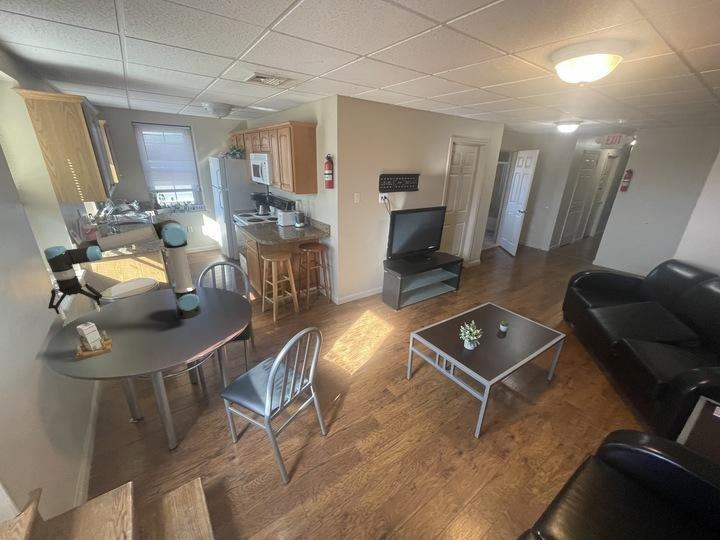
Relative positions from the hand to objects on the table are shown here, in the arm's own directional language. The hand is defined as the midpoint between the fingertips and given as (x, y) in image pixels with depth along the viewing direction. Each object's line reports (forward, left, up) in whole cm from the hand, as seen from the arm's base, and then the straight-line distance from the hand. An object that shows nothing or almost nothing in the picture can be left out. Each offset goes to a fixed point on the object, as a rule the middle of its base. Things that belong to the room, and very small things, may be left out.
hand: (82, 314), depth 149 cm
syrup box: (0, 0, -21) cm, 21 cm away
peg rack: (0, -1, -23) cm, 23 cm away
